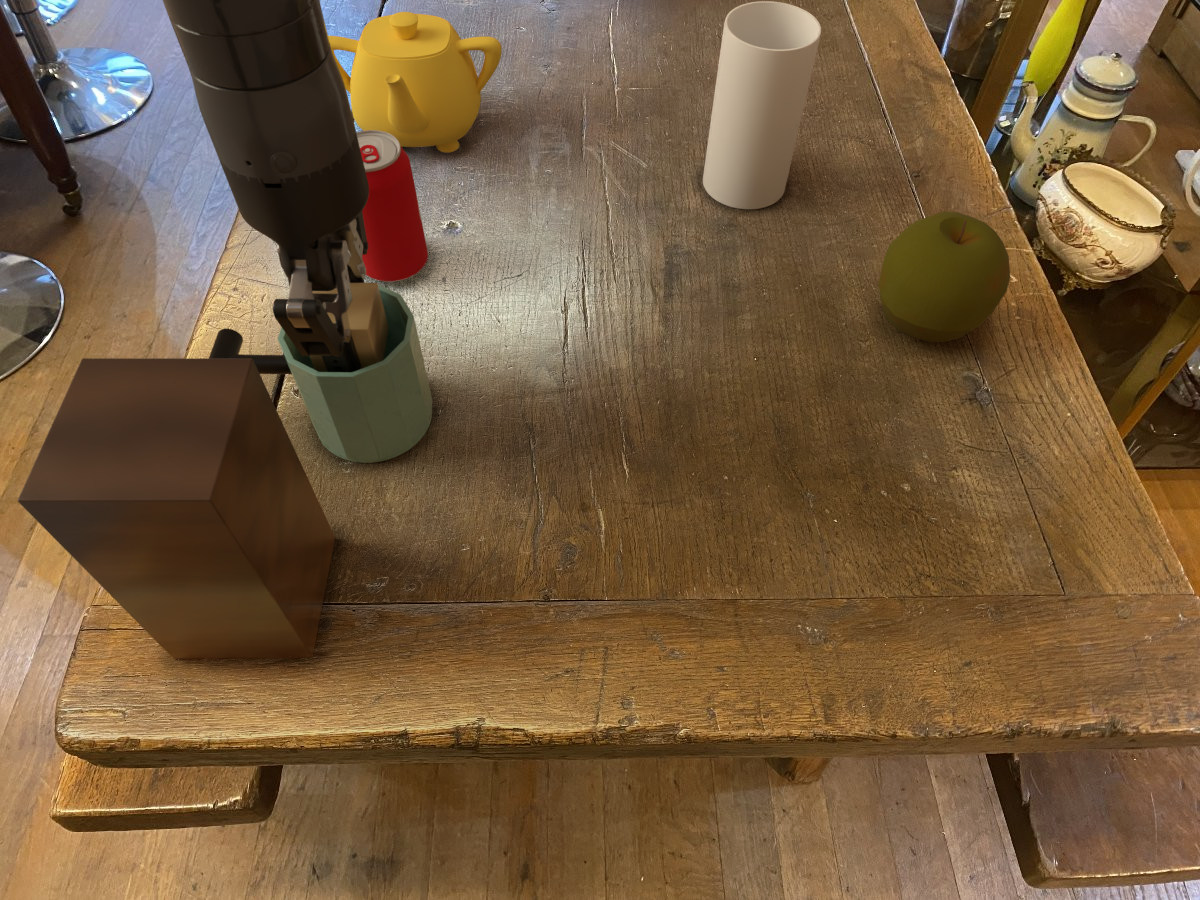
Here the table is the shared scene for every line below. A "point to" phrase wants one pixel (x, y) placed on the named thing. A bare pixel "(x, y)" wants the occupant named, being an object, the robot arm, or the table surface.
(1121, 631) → the table surface
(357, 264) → the robot arm
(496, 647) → the table surface
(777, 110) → the cup
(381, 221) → the beverage can
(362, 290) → the block
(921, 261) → the apple
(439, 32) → the teapot
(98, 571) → the block
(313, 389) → the mug
